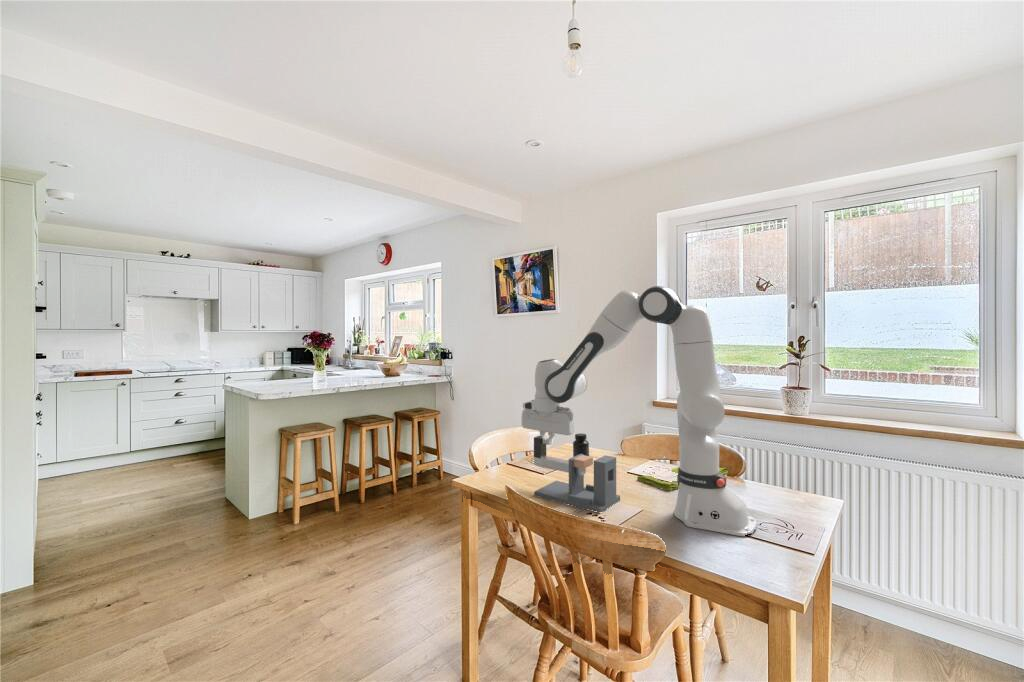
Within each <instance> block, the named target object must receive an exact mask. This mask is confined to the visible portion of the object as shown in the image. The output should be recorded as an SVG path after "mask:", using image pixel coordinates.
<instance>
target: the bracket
mask: <svg viewBox="0 0 1024 682" xmlns="http://www.w3.org/2000/svg"><path fill="white" fill-rule="evenodd" d="M581 455H584V454H579V455H577V456H574V457H573V456H572V457H569V458H568V461H569V473H568V482H564V481H559V480H555V481H553V482H551V483H548V484H547V485H545V486H542V487H540V488H539V489H537V490H535V491H534V497H537V498H541V499H545V500H549V501H552V500H553V501H552V502H557V503H559V502H560V503H559V504H563V503H565V504H564V505H567V504H569V505H568V506H570V505H573V506H572V507H574V506H576V507H575V508H578V507H580V508H579V509H582V508H584V509H583V510H585V509H589V510H593V511H597V512H603V511H604V510H605V511H607V510H608V509H609V507H610V506H611V507H613V506H614V505H615V504H617V503H618V502H619V501H621V495H620V494H617V457H616V456H609V455H606V454H605V455H603V456H601V457H598V458H596V459H595V460H594V459H593V484H588V483H587V484H585V480H584V479H585V476H584V475H585V474H583V475H576V474H575V467H574V466H573V459H574V458H577V457H579V456H581ZM613 504H614V505H613ZM612 505H613V506H612ZM611 507H610V508H611ZM607 508H608V509H607ZM606 509H607V510H606ZM589 510H588V511H589ZM593 511H592V512H593ZM605 511H604V512H605ZM604 512H603V513H604Z"/></svg>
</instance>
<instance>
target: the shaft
mask: <svg viewBox="0 0 1024 682" xmlns="http://www.w3.org/2000/svg"><path fill="white" fill-rule="evenodd" d="M533 460H534V461H533V464H534V465H533V466H536V467H540V468H541V467H542V468H546V469H551V470H555V471H558V472H564V473H568V474H569V460H565V459H560V458H556V457H552V456H551V457H550V456H547V444H543V439H542V437H541V435H537V436H534V437H533ZM586 469H587V468H585V469H583V468H578V467H575V474H576V475H583V474H584V475H585V474H586V473H587V470H586Z"/></svg>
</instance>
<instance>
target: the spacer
mask: <svg viewBox="0 0 1024 682" xmlns="http://www.w3.org/2000/svg"><path fill="white" fill-rule="evenodd" d="M592 465H593V466H594V457H593V456H590V455H589V456H585V455H581V456H579V457H577V458H574V459H573V466H574V467H578V468H583V469H585V468H586V469H587V468H588V467H591V466H592Z"/></svg>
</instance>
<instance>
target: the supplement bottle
mask: <svg viewBox="0 0 1024 682" xmlns="http://www.w3.org/2000/svg"><path fill="white" fill-rule="evenodd" d="M574 439H575V440H573V442H572V457H574V456H577V455H579V454H584V455H585V456H590V442H589V441H588V440H587V434H586V433H575V434H574Z"/></svg>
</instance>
